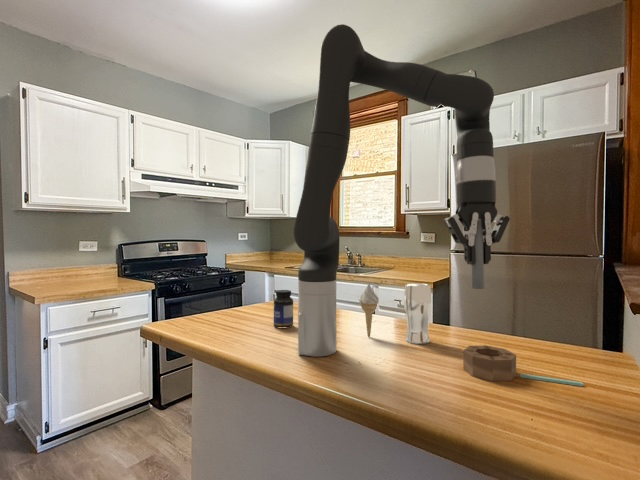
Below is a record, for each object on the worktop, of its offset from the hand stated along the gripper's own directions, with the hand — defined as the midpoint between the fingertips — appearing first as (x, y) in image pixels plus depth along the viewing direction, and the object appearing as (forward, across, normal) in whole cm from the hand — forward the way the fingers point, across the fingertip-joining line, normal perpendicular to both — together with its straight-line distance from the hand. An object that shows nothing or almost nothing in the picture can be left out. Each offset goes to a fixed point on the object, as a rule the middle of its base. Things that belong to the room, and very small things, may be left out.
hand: (477, 263), depth 73 cm
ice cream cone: (+21, -18, +25) cm, 38 cm away
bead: (+22, +1, -2) cm, 22 cm away
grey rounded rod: (+5, 0, 0) cm, 5 cm away
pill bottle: (+21, -42, +40) cm, 61 cm away
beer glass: (+22, -6, +20) cm, 30 cm away
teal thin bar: (+22, +10, -7) cm, 25 cm away
